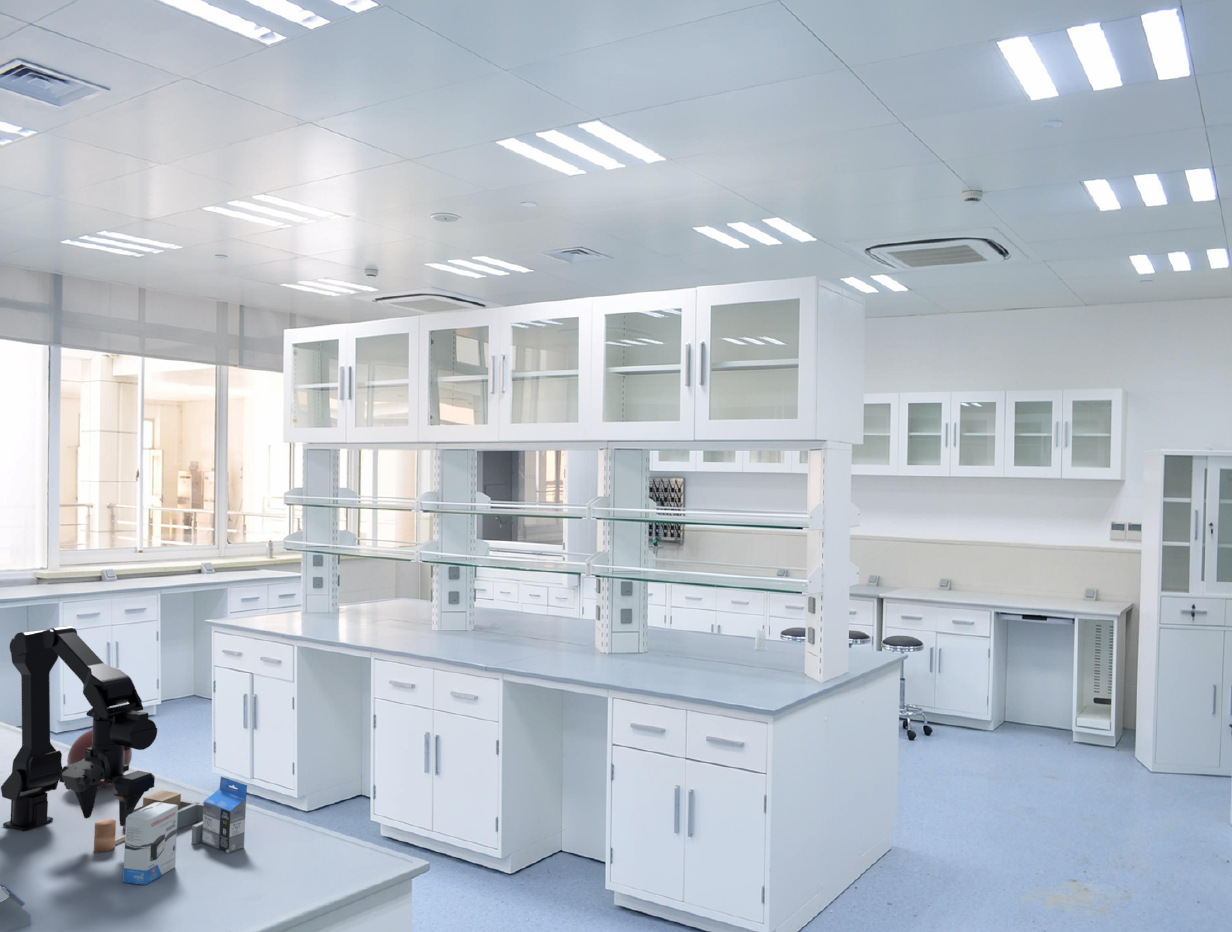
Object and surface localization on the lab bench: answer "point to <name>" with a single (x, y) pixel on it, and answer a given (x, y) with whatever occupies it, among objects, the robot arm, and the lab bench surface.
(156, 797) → the brown elongated piece
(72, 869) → the lab bench surface
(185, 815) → the shelf lane
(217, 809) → the ink cartridge box
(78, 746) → the round-bottom flask
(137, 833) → the ink box
